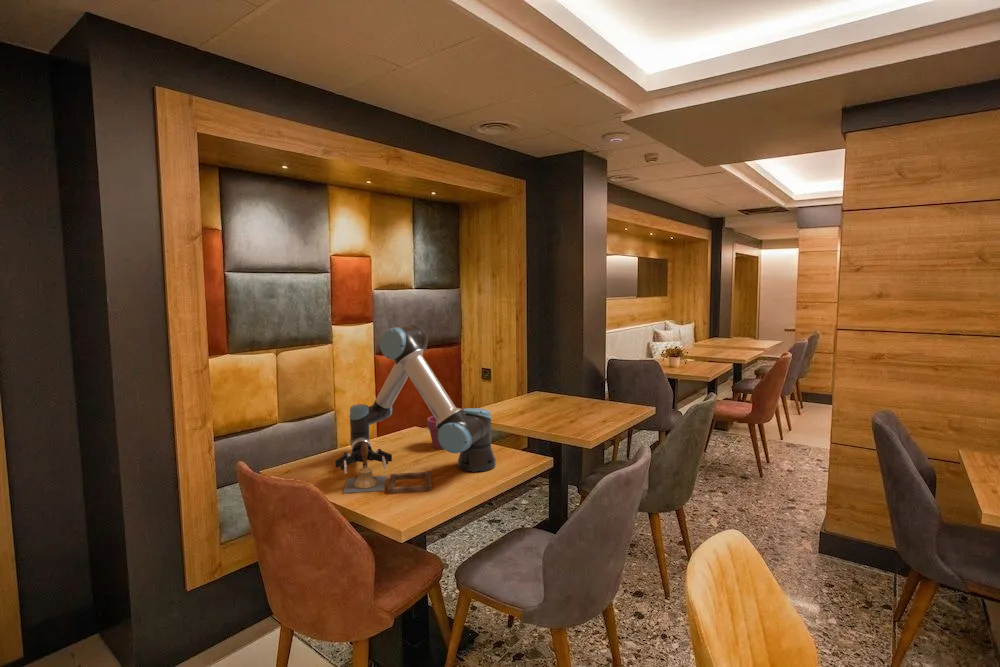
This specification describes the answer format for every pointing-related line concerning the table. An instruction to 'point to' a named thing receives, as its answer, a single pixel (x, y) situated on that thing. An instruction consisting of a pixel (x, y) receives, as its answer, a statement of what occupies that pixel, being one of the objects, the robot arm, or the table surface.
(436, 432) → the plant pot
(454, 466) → the table surface
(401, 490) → the square frame
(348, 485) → the rubber mat
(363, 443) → the hand bell
